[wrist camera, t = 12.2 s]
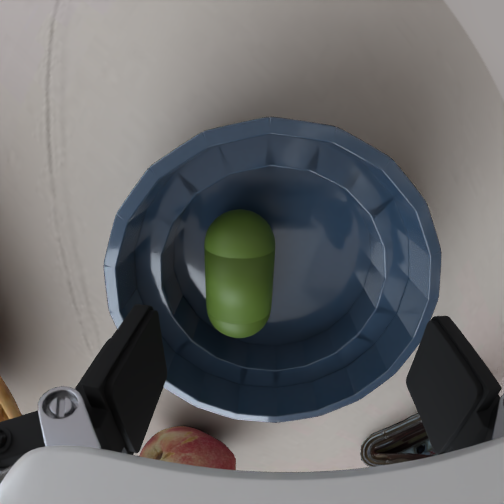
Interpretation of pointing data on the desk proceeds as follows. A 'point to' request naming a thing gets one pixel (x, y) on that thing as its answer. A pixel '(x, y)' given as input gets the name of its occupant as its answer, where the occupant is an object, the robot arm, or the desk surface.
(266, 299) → the pickle
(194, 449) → the fruit
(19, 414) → the ceramic bowl
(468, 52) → the desk surface
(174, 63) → the desk surface
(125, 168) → the desk surface
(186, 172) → the bowl
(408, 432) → the layered cake slice
